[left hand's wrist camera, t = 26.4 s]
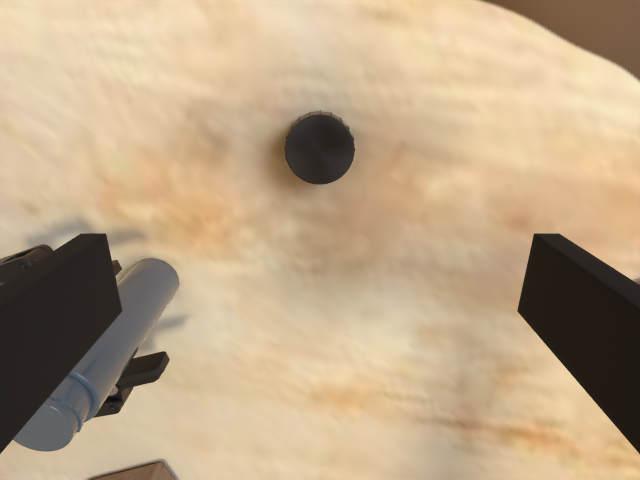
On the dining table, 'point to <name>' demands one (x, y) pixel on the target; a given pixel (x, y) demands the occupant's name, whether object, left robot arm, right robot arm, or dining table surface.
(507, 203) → the dining table surface
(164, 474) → the wooden block
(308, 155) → the lid
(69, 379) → the blue-grey cylinder
